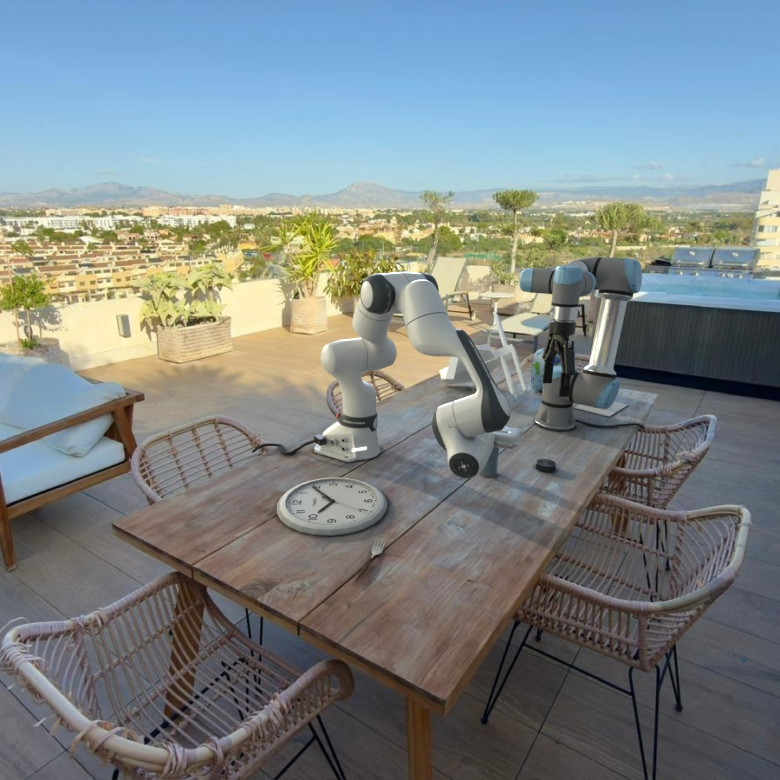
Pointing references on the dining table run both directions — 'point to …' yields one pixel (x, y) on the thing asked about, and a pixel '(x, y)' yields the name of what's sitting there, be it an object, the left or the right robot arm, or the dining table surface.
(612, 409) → the invitation card
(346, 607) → the dining table surface
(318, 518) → the wall clock
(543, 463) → the lid
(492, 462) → the jar
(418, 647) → the dining table surface
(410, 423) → the dining table surface
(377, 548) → the fork
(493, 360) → the white plastic object
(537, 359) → the lunch box
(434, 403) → the dining table surface
